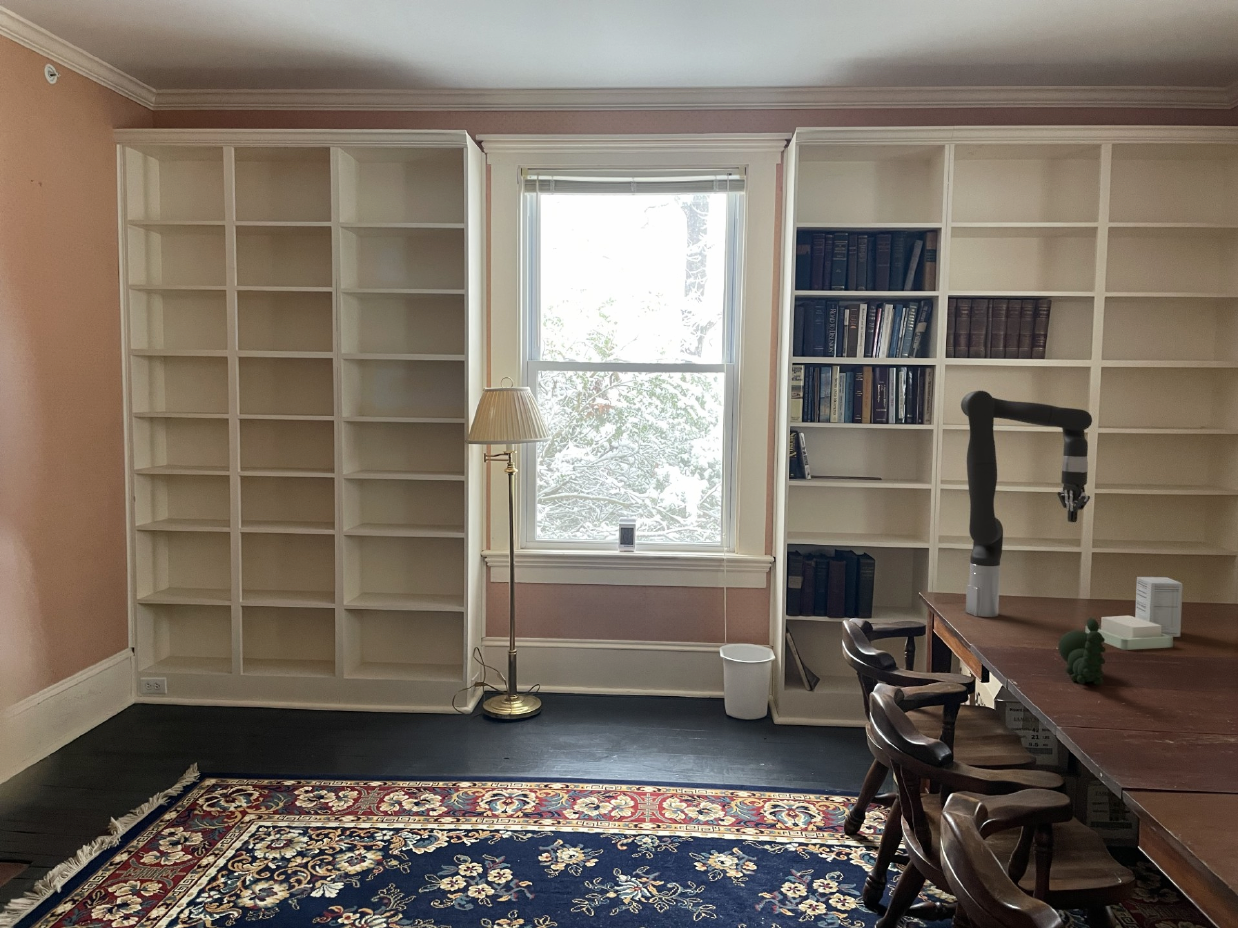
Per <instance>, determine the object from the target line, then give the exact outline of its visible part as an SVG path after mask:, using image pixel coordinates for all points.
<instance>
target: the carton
mask: <svg viewBox="0 0 1238 928" xmlns="http://www.w3.org/2000/svg"><path fill="white" fill-rule="evenodd" d="M1100 622H1101V623H1100V630H1103V631H1106V632H1108V633H1111V634H1114V635H1117V636H1119V637H1122V638H1142V637H1160V636H1161V625H1158V624H1155V623H1152V622H1148V621H1145V620H1142V619H1139V618H1135V616H1132V615H1117V616H1101V620H1100Z"/></svg>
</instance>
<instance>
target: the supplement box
mask: <svg viewBox="0 0 1238 928" xmlns="http://www.w3.org/2000/svg"><path fill="white" fill-rule="evenodd" d="M1135 591H1136V592H1135V593H1136V594H1135V613H1134V614H1135V616H1134V617H1135V618H1139V619H1142V620H1145V621H1148V622H1152V623H1155V624H1158V625H1161V633H1162V634H1165V635H1168V636H1171V637H1173V638H1179V637H1181V630H1182V629H1181V627H1182V607H1183V606H1182V601H1183V583H1182V582H1180V581H1178V580H1174V579H1172V578H1170V577H1166V576H1163V577H1162V576H1161V577H1160V576H1156V577H1155V576H1137V577H1136V590H1135Z"/></svg>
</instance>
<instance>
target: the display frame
mask: <svg viewBox="0 0 1238 928" xmlns="http://www.w3.org/2000/svg"><path fill="white" fill-rule="evenodd" d="M1084 630H1085V631H1084V632H1086V633H1089V632H1090V631H1089V629H1088V627H1087V625H1085V629H1084ZM1097 632H1099V633H1100V634H1101V635H1102V636H1103V638H1104V639H1105V641H1104V642H1103V644H1104V643H1105V644H1107V645H1110V646H1112V647H1115V648H1118V649H1121V650H1124V651H1128V650H1130V651H1131V650H1148V649H1161V648H1162V649H1166V648H1173V647H1174V643H1173V642H1174V637H1171V636H1168V635H1165V634H1162V633H1161V636H1160V637H1142V638H1122V637H1119V636H1117V635H1114V634H1111V633H1108V632H1106V631H1103V630H1101V628H1099V630H1098V631H1097Z"/></svg>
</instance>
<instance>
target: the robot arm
mask: <svg viewBox="0 0 1238 928" xmlns="http://www.w3.org/2000/svg"><path fill="white" fill-rule="evenodd" d="M960 408H961V411H962V413H963V414H964V415H965V416H966V417H967V418H968V425H969V438H968V439H969V441H968V445H967V451H966V471H967V473H966V474H967V484H968V485H967V486H968V495H969V502H970V503H969V504H970V506H969V507H970V509H969V510H970V511H969V512H970V513H969V525H968V526H969V529H968V531H969V535H970V538H971V539H972V540H973V541H972V542H973V545H972V550H971V551H972V552H971V553H970V558H969V559H970V561H969V562H970V564H969V582H968V584H966V595H965V596H966V597H965V613H967V614H969V615H971V616H975V617H984V618H995V617H998V616H999V598H1000V597H999V596H1000V595H999V594H1000V575H1001V574H1000V571H1001V569H1000V568H1001V558H1002V554H1003V544H1004V543H1003V541H1004V528H1003V527H1004V526H1003V524H1002V522H1001V521H1000V519H998V518H997V517H996V516H995V504H994V503H995V495H996V489H997V484H998V483H997V482H998V464H997V451H996V443H995V442H996V441H995V437H994V425H995V423H994V422H995V419H1002V420H1011V421H1016V422H1021V423H1025V424H1032V425H1036V426H1044V427H1056V428H1061V430H1062V436H1063V442H1064V443H1063V457H1062V461H1061V463H1062V464H1061V477H1060V478H1061V479H1060V480H1061V484H1063V486H1062V490H1061V491H1058V492H1057V493H1056V495H1057V496H1058V498H1059V501H1060V503H1061V506H1062V507H1063V509H1066V510H1067V521H1068V523H1069V522H1070V523H1077V520H1078V512H1079V511H1082V510H1084V509H1085V506H1086V505H1087V503H1088V502H1089V501H1090V499H1091V496H1090V495H1087V494H1086V489H1085V485H1087V484H1088V470H1089V469H1088V468H1089V467H1088V466H1089V461H1088V451H1089V450H1088V449H1089V445H1088V444H1089V443H1088V440H1087V439H1086V438H1085V437H1086V436H1085V433H1086V432H1085V430H1087V429H1089V428H1090V426H1091V425H1092V423H1093V417H1092V415H1091V414H1090V412H1088V411H1087V410H1085V409H1080V408H1073V407H1062V406H1061V407H1060V406H1056V405H1050V404H1045V403H1039V402H1038V403H1037V402H1028V401H1015V400H1013V401H1012V400H1005V399H1000V398H996V397H993V396H992V395H991V394H990V393H989V392H988V391H985V390H975V391H971V392H969V393H967V394H965V396H963V398H962V400H961V402H960Z"/></svg>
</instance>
